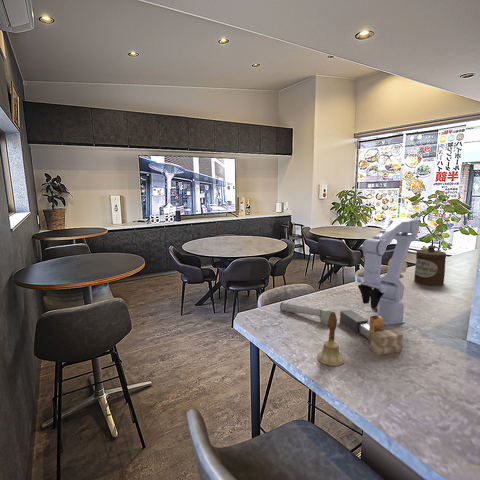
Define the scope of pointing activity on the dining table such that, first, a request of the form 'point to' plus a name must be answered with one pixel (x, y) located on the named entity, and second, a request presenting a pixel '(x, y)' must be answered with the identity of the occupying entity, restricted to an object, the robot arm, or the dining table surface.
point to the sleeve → (351, 320)
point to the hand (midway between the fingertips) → (369, 305)
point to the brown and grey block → (371, 326)
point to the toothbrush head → (307, 311)
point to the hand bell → (331, 346)
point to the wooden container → (430, 267)
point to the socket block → (386, 341)
